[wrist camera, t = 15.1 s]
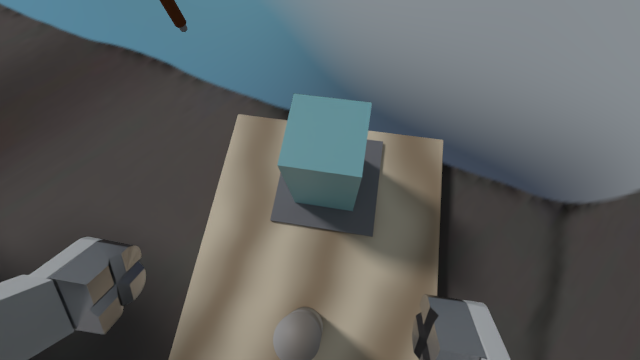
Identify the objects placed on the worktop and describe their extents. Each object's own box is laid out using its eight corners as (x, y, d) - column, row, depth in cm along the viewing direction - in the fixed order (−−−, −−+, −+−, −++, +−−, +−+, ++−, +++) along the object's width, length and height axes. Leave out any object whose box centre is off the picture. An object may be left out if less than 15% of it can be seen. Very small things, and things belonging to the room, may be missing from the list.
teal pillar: (294, 202, 24) (277, 165, 16) (305, 149, 25) (293, 93, 18) (352, 211, 23) (362, 177, 16) (360, 157, 25) (371, 102, 17)
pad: (270, 220, 24) (270, 220, 23) (290, 131, 26) (290, 129, 26) (372, 236, 23) (372, 236, 23) (382, 143, 26) (382, 141, 25)
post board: (168, 391, 22) (103, 434, 15) (243, 122, 28) (218, 78, 22) (423, 446, 20) (464, 520, 14) (437, 147, 27) (468, 107, 21)
